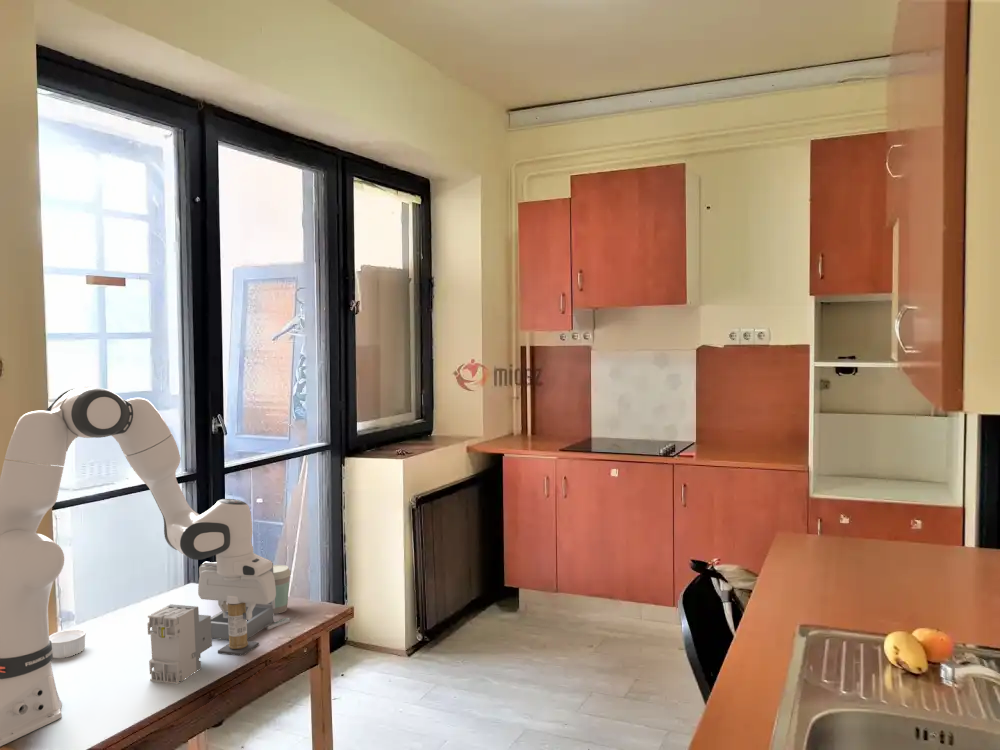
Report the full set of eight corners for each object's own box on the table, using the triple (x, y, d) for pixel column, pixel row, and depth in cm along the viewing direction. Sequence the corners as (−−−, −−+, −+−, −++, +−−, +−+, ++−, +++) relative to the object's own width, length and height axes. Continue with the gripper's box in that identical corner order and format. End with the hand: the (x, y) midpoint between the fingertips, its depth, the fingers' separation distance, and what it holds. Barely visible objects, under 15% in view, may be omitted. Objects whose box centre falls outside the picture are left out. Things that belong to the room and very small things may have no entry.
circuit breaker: (216, 658, 193) (214, 597, 192) (178, 684, 179) (175, 618, 179) (190, 655, 195) (187, 595, 194) (150, 680, 181) (147, 616, 181)
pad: (242, 655, 194) (242, 653, 194) (217, 653, 196) (217, 650, 196) (258, 644, 201) (258, 642, 201) (234, 642, 203) (234, 639, 203)
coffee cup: (266, 605, 230) (265, 564, 229) (295, 605, 230) (294, 564, 229) (256, 615, 222) (254, 573, 221) (286, 615, 221) (285, 573, 221)
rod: (268, 630, 211) (268, 626, 211) (265, 629, 212) (265, 625, 212) (289, 622, 217) (289, 618, 217) (287, 621, 217) (287, 617, 217)
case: (247, 641, 203) (244, 580, 202) (203, 637, 207) (200, 576, 206) (278, 620, 217) (276, 563, 216) (236, 617, 221) (234, 560, 220)
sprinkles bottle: (245, 641, 202) (243, 589, 201) (249, 647, 198) (247, 594, 197) (227, 645, 200) (224, 592, 199) (230, 651, 196) (228, 597, 195)
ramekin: (38, 660, 195) (37, 642, 194) (59, 645, 204) (58, 629, 203) (74, 659, 194) (73, 642, 194) (93, 645, 203) (92, 628, 203)
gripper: (191, 564, 197) (193, 619, 198) (263, 569, 192) (266, 626, 193) (207, 557, 203) (209, 610, 204) (278, 562, 198) (280, 616, 199)
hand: (237, 618), depth 198 cm, fingers closed on sprinkles bottle, 4 cm apart
